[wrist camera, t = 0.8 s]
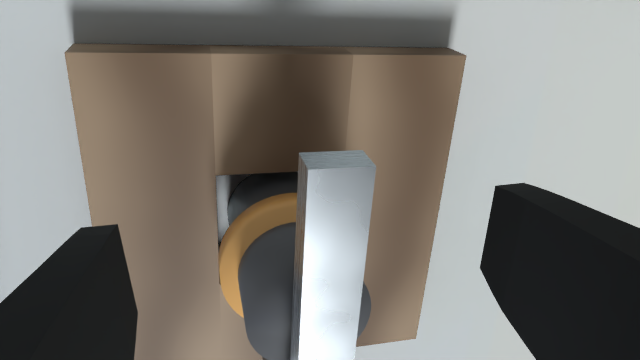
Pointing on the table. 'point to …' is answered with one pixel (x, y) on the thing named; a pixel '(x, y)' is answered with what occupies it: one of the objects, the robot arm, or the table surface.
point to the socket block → (256, 167)
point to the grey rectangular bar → (330, 252)
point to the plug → (265, 261)
